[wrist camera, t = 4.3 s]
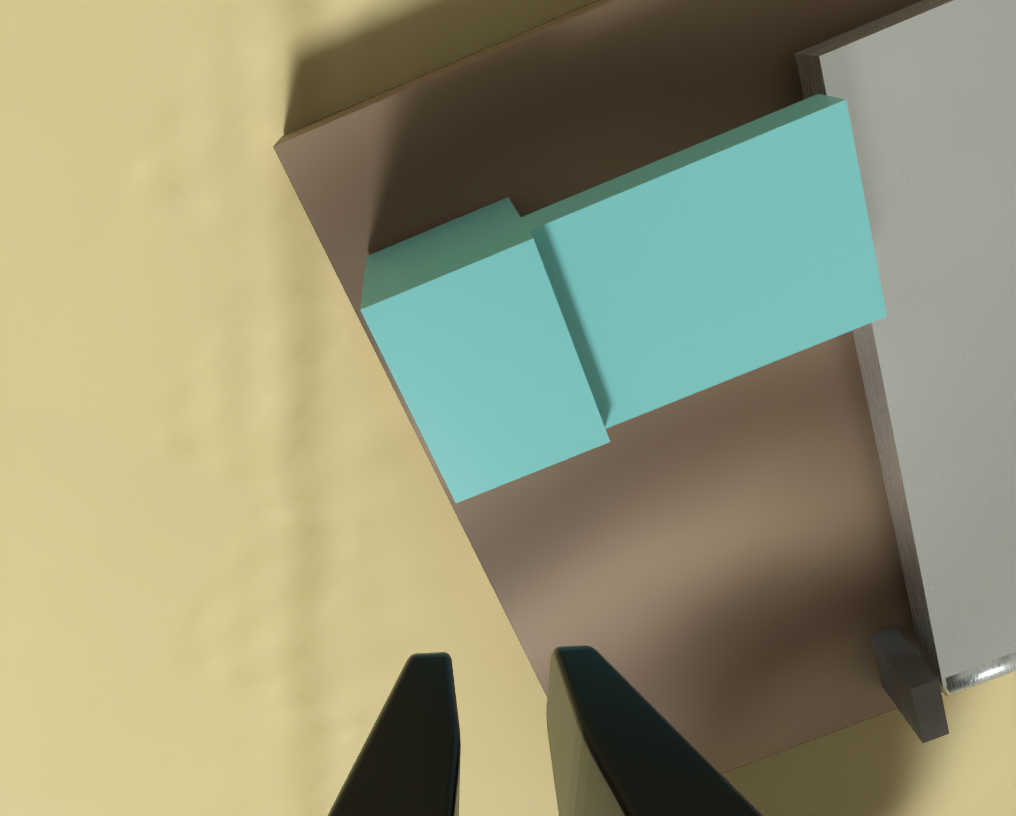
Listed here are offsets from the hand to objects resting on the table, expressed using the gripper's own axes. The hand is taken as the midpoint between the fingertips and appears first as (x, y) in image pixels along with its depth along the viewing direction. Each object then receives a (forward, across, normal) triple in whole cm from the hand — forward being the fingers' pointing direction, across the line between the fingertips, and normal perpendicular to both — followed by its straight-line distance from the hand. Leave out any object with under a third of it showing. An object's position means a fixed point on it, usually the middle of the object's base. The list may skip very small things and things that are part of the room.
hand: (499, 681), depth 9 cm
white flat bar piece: (+10, -12, +1) cm, 15 cm away
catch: (+10, -3, -2) cm, 10 cm away
